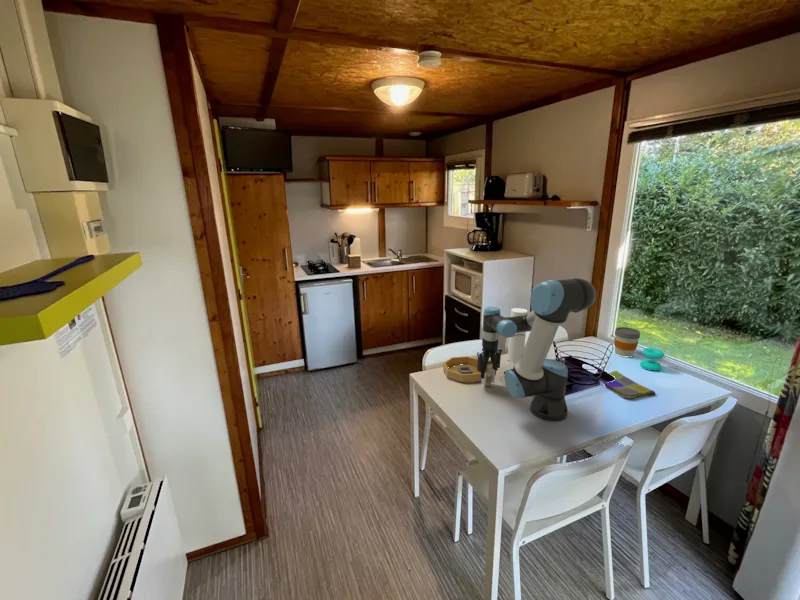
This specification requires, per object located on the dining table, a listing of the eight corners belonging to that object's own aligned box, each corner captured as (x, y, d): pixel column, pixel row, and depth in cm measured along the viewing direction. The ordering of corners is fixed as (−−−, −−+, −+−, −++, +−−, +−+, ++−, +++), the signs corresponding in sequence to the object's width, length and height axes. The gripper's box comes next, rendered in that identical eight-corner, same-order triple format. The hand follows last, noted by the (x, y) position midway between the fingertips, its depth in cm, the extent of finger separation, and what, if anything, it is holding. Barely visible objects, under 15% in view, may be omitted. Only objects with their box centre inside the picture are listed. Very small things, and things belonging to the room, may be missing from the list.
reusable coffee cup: (640, 355, 218) (644, 331, 214) (629, 361, 212) (633, 336, 208) (619, 348, 228) (622, 325, 224) (607, 353, 222) (610, 329, 218)
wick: (492, 387, 185) (493, 362, 181) (485, 387, 184) (486, 363, 181) (489, 383, 188) (491, 360, 184) (483, 384, 187) (484, 360, 184)
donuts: (647, 345, 207) (668, 351, 199) (644, 362, 210) (664, 368, 202) (639, 350, 201) (660, 356, 194) (636, 367, 204) (657, 373, 196)
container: (525, 363, 210) (529, 312, 202) (509, 363, 210) (513, 312, 202) (520, 357, 218) (524, 308, 210) (506, 357, 218) (509, 308, 210)
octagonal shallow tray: (492, 381, 190) (492, 372, 189) (450, 384, 188) (450, 375, 187) (478, 363, 211) (478, 355, 210) (440, 365, 209) (440, 358, 207)
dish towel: (616, 373, 198) (617, 369, 197) (657, 396, 175) (658, 391, 174) (588, 378, 194) (589, 373, 193) (627, 402, 171) (628, 396, 170)
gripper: (499, 333, 186) (497, 375, 192) (470, 339, 179) (468, 383, 185) (510, 338, 180) (506, 382, 186) (480, 344, 172) (477, 390, 179)
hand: (487, 382), depth 186 cm, fingers open, 4 cm apart
